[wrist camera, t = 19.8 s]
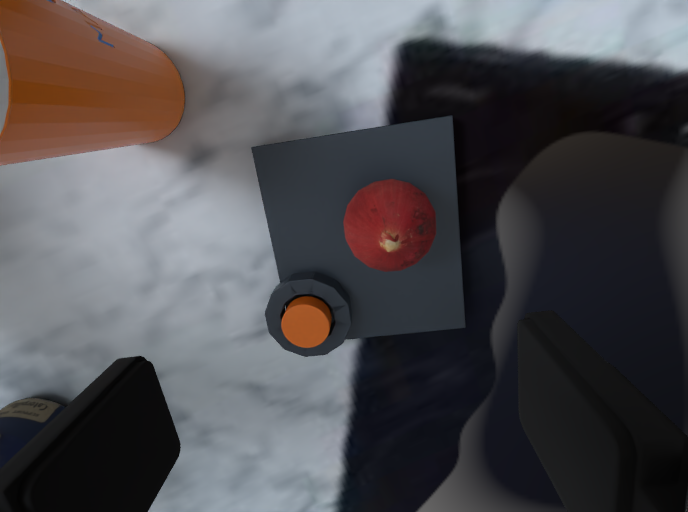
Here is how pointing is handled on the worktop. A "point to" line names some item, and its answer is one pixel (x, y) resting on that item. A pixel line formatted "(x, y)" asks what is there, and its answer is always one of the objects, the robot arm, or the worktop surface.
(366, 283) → the scale
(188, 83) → the worktop surface
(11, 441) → the canister
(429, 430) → the worktop surface
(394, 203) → the onion
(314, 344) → the button
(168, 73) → the shaker bottle
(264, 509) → the worktop surface
